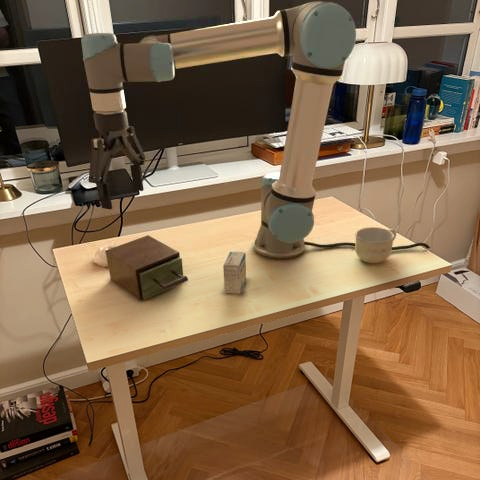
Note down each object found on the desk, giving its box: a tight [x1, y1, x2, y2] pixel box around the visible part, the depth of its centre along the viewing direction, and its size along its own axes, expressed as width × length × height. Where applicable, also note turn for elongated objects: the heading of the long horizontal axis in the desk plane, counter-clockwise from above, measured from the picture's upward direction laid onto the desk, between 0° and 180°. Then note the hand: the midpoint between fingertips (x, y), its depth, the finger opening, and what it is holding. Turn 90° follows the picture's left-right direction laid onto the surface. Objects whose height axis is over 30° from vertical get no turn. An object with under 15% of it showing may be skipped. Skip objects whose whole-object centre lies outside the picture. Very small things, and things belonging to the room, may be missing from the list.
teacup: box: [354, 227, 397, 264], centre depth 143 cm, size 14×11×8 cm
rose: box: [93, 245, 117, 268], centre depth 145 cm, size 10×4×10 cm
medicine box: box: [222, 251, 247, 295], centre depth 130 cm, size 8×4×9 cm, turn 168°
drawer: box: [139, 256, 189, 301], centre depth 130 cm, size 20×13×7 cm, turn 43°
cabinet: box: [105, 234, 181, 302], centre depth 133 cm, size 15×14×9 cm
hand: (123, 198), depth 125 cm, fingers open, 13 cm apart
